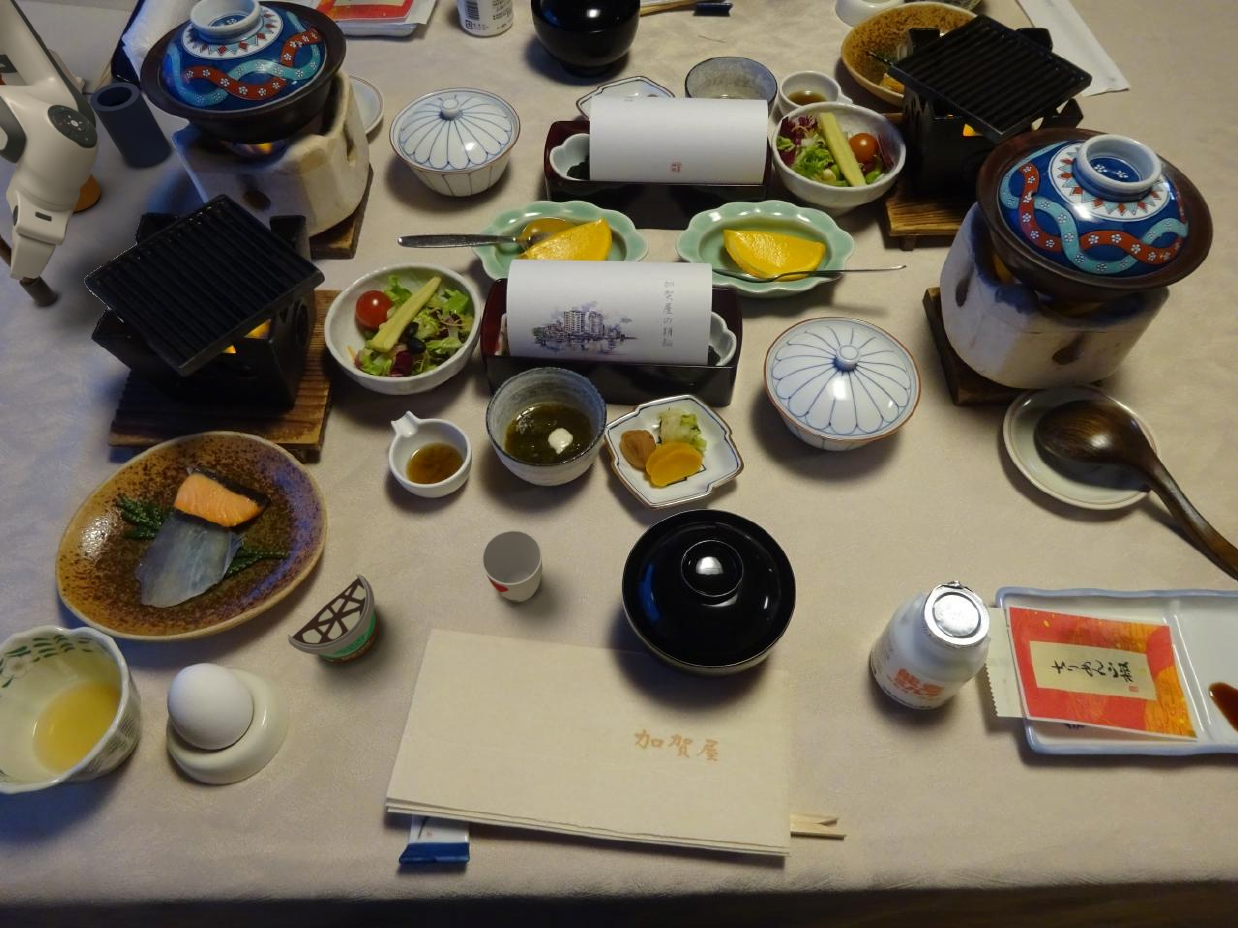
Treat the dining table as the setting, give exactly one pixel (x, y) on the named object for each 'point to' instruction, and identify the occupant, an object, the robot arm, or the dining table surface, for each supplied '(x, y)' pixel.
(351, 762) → the dining table surface
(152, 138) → the dark gray hollow cylinder
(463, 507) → the dining table surface
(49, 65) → the robot arm
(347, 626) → the food container
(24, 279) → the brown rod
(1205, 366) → the dining table surface
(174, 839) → the dining table surface
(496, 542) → the cup
